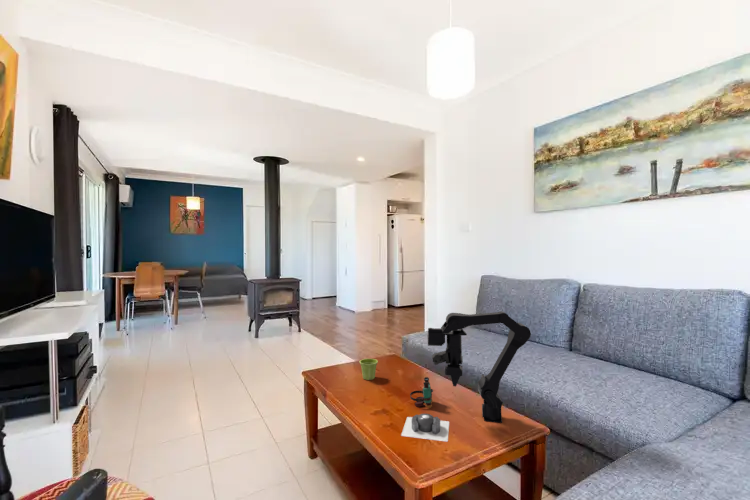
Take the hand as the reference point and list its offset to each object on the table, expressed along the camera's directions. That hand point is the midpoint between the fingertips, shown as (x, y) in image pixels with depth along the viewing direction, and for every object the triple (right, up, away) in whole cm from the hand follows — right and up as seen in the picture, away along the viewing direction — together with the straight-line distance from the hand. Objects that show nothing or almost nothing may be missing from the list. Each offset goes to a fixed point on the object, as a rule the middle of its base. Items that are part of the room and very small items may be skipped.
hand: (454, 386), depth 132 cm
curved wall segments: (-13, -12, -9) cm, 19 cm away
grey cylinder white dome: (-13, -12, -9) cm, 19 cm away
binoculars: (-11, -13, +11) cm, 20 cm away
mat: (-13, -12, -9) cm, 20 cm away
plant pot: (-34, -13, +42) cm, 56 cm away
